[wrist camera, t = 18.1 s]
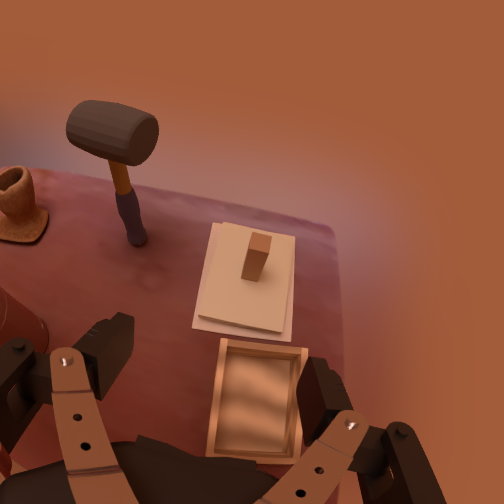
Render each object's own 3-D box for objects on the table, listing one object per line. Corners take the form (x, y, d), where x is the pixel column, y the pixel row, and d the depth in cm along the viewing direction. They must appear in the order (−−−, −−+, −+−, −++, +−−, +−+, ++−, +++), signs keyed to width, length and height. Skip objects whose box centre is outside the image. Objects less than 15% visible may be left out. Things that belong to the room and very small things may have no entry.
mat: (290, 342, 48) (290, 341, 47) (191, 328, 46) (191, 328, 46) (294, 237, 59) (294, 236, 59) (212, 223, 58) (213, 222, 57)
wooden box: (286, 456, 37) (299, 464, 31) (205, 450, 36) (205, 458, 30) (294, 356, 46) (308, 348, 40) (218, 347, 45) (220, 337, 39)
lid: (278, 335, 48) (301, 312, 37) (198, 318, 47) (196, 290, 36) (290, 244, 58) (309, 205, 47) (222, 229, 57) (227, 186, 46)
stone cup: (58, 206, 54) (36, 159, 42) (38, 249, 48) (7, 206, 35) (17, 202, 53) (-7, 161, 40) (-3, 241, 46) (-33, 203, 34)
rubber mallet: (174, 238, 55) (162, 101, 29) (154, 268, 51) (121, 133, 25) (125, 215, 56) (95, 88, 30) (104, 241, 52) (55, 115, 26)
